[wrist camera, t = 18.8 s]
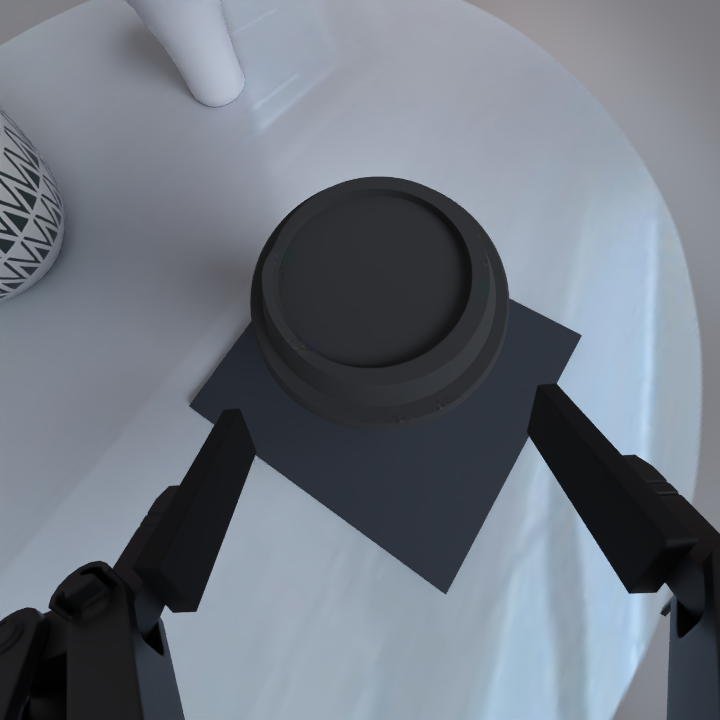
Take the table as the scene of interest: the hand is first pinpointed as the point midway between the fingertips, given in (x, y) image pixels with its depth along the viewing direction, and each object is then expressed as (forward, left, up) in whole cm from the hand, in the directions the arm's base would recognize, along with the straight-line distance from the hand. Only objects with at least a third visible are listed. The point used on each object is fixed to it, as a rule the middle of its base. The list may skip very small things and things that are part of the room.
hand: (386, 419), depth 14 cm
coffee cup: (+2, -3, -9) cm, 9 cm away
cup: (+32, -20, -9) cm, 39 cm away
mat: (+2, -3, -9) cm, 10 cm away
